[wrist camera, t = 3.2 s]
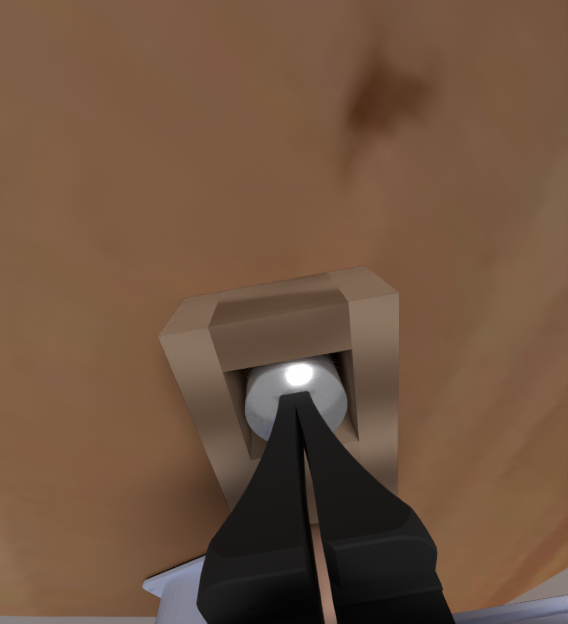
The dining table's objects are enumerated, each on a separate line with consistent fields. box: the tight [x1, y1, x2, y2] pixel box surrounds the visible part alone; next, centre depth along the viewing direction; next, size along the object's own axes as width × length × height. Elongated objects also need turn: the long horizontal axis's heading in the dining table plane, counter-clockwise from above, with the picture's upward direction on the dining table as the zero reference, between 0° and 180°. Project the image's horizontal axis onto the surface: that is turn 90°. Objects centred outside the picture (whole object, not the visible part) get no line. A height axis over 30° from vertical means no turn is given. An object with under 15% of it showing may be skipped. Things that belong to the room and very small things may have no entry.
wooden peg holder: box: [158, 266, 399, 524], centre depth 17 cm, size 22×10×4 cm, turn 10°
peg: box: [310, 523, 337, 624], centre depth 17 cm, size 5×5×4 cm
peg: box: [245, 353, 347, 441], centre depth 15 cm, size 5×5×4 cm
